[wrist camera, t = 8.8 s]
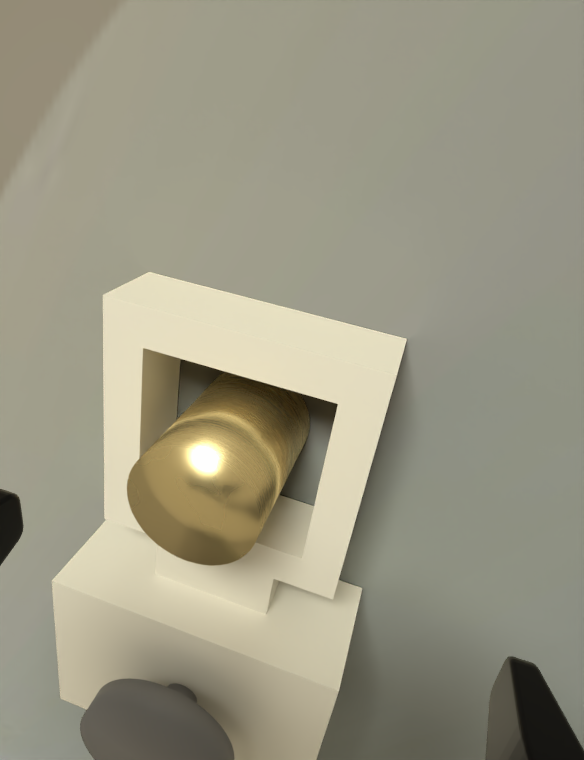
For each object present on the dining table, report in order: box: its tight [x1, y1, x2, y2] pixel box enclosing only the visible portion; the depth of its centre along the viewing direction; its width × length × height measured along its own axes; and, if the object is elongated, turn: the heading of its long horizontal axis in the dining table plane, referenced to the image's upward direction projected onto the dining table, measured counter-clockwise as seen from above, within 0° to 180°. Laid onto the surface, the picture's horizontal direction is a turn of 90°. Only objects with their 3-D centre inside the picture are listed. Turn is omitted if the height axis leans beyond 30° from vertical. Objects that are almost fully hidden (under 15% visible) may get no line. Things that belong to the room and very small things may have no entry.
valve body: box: [52, 272, 407, 760], centre depth 21 cm, size 12×20×8 cm, turn 170°
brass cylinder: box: [127, 372, 310, 566], centre depth 19 cm, size 4×4×6 cm
